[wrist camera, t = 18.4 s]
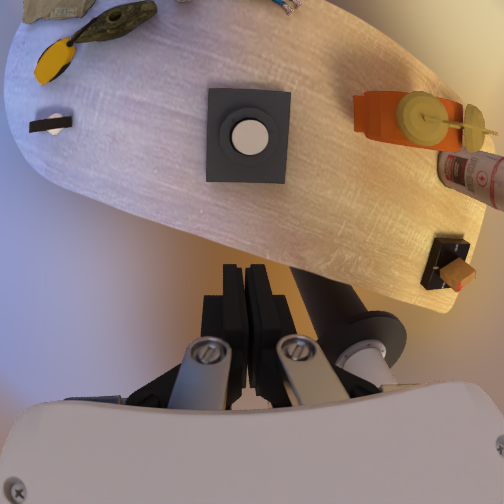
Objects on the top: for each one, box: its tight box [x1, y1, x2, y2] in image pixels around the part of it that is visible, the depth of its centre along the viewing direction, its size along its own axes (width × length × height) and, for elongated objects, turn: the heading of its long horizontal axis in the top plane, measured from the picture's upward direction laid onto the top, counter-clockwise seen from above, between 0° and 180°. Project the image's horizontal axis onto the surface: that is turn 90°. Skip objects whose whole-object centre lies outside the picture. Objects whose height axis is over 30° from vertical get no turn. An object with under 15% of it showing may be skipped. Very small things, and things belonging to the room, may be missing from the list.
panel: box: [420, 238, 470, 290], centre depth 47 cm, size 10×10×3 cm
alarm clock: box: [353, 91, 498, 153], centre depth 27 cm, size 13×6×20 cm, turn 94°
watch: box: [29, 113, 72, 136], centre depth 30 cm, size 8×5×4 cm
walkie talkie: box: [34, 17, 97, 85], centre depth 24 cm, size 5×2×15 cm
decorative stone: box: [71, 0, 157, 43], centre depth 25 cm, size 12×5×4 cm, turn 118°
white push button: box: [232, 120, 268, 155], centre depth 31 cm, size 4×4×2 cm
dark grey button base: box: [206, 88, 291, 184], centre depth 34 cm, size 12×10×5 cm
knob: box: [440, 257, 476, 292], centre depth 43 cm, size 6×2×6 cm, turn 116°
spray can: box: [438, 147, 504, 212], centre depth 31 cm, size 8×8×20 cm
